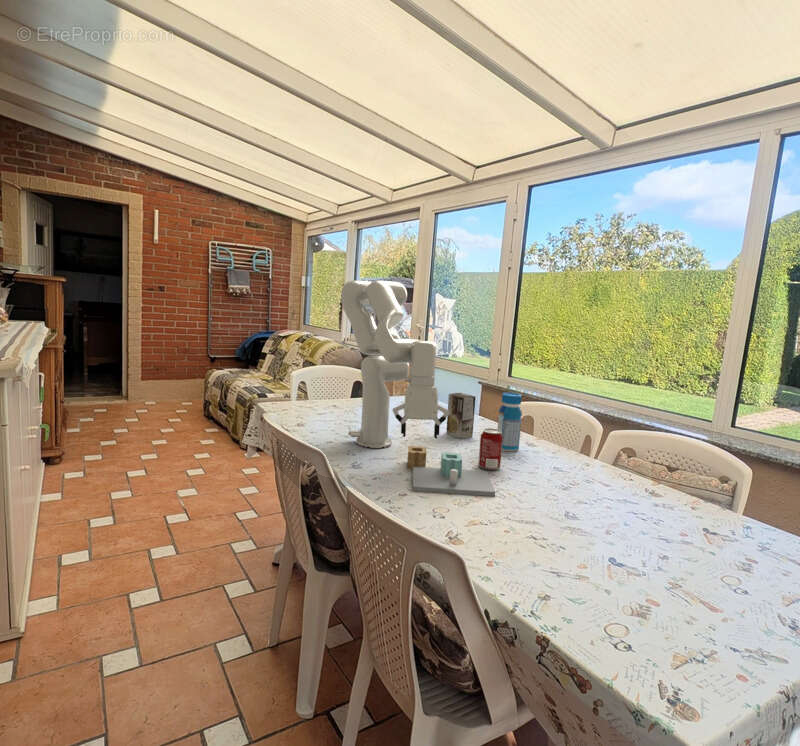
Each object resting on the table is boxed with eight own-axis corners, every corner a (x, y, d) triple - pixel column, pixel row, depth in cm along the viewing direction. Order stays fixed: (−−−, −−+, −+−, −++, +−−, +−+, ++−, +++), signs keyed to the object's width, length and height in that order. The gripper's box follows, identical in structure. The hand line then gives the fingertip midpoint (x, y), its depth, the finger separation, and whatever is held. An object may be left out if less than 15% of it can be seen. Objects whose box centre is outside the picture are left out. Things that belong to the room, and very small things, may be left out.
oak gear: (407, 468, 143) (408, 452, 143) (407, 460, 151) (408, 445, 150) (425, 469, 143) (426, 453, 143) (424, 461, 150) (425, 446, 150)
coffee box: (473, 437, 182) (476, 396, 180) (460, 439, 179) (463, 397, 176) (457, 431, 190) (460, 392, 187) (445, 433, 186) (448, 393, 184)
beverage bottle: (509, 453, 164) (515, 397, 161) (490, 447, 170) (495, 393, 167) (523, 449, 170) (529, 395, 167) (504, 443, 176) (509, 391, 173)
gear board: (412, 490, 126) (414, 468, 125) (413, 470, 142) (414, 450, 141) (494, 496, 126) (496, 474, 125) (485, 474, 142) (487, 454, 141)
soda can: (499, 472, 144) (503, 434, 143) (477, 469, 146) (480, 432, 144) (499, 465, 151) (503, 429, 149) (478, 462, 152) (481, 426, 151)
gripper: (393, 382, 139) (391, 438, 141) (451, 384, 139) (448, 440, 141) (394, 379, 147) (392, 432, 149) (449, 381, 146) (447, 434, 148)
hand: (419, 436), depth 145 cm, fingers open, 9 cm apart
